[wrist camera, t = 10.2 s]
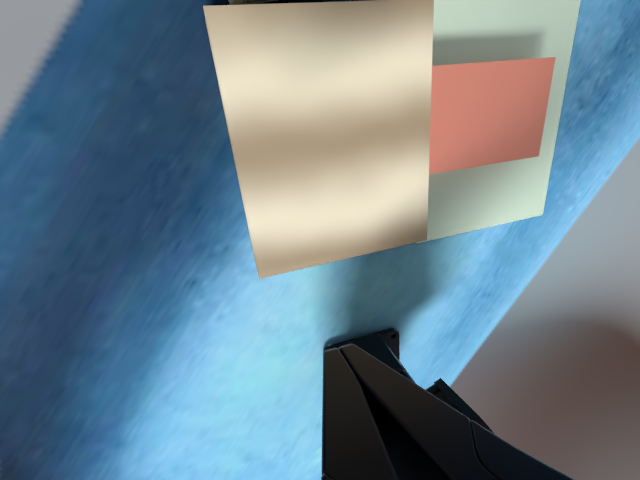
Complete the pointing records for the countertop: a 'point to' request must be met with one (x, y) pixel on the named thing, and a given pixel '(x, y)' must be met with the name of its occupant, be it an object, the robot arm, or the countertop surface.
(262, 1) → the skincare box
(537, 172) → the mat
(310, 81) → the board
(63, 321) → the countertop surface
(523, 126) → the salmon pink brick
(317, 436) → the countertop surface
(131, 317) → the countertop surface
